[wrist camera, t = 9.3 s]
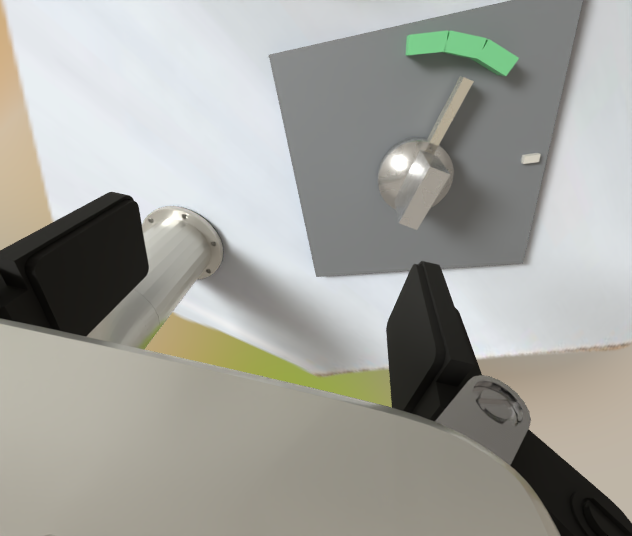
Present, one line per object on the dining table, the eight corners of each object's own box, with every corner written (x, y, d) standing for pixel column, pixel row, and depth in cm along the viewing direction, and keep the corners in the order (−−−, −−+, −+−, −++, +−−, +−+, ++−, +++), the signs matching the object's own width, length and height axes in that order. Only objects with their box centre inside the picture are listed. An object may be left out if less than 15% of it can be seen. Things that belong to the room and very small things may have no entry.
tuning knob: (426, 215, 38) (438, 247, 32) (366, 192, 38) (366, 221, 31) (500, 93, 30) (536, 103, 24) (425, 62, 30) (442, 64, 23)
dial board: (317, 271, 48) (314, 286, 45) (272, 54, 33) (262, 54, 29) (518, 257, 42) (530, 273, 39) (576, -14, 27) (605, -23, 24)
